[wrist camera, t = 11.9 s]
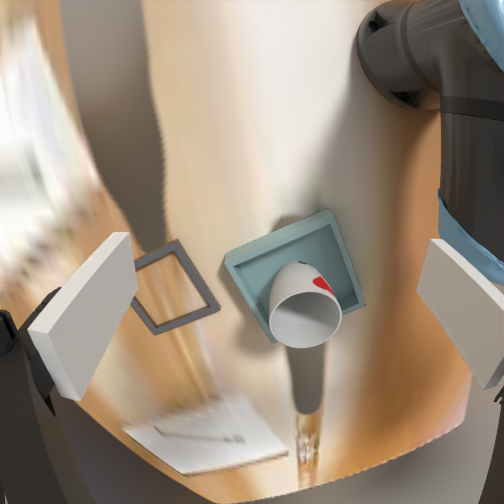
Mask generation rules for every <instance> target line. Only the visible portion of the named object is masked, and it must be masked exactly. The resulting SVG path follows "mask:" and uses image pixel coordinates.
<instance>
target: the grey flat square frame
mask: <svg viewBox="0 0 504 504" xmlns="http://www.w3.org/2000/svg"><path fill="white" fill-rule="evenodd" d="M172 251H175V253H176V254H177V256H178V258H179V259H180V261H181V262H182V264H183V265H184V267H185V269H186V270H187V272H188V273H189V275H190V276H191V278H192V279H193V281H194V282H195V284H196V285H197V287H198V289H199V290H200V292H201V293H202V295H203V296H204V298H205V299H206V301H207V302H208V304H209V305H208V306H206V307H203V308H201V309H198V310H196V311H193V312H190V313H188V314H185V315H183V316H180V317H178V318H175V319H173V320H170V321H168V322H165V323H162V324H160V325H156V323H155V322H154V321H153V319H152V318H151V317H150V316H149V314H148V313H147V312H146V310H145V309H144V308H143V306H142V305H141V304H140V302H139V301H138V300H137V298H136V297H135V296H134V297H133V299H132V301H131V303H130V304H131V305H132V307H133V308H134V309H135V311H136V312H137V313H138V314H139V316H140V317H141V318H142V320H143V321H144V322H145V323H146V325H147V326H148V327H149V329H150V330H151V331H152V332H153V333H154V335H156V334H159V333H162V332H164V331H167V330H170V329H172V328H175V327H178V326H180V325H183V324H186V323H188V322H191V321H193V320H196V319H199V318H201V317H204V316H206V315H209V314H211V313H214V312H217V311H219V310H221V306H220V305H219V303H218V302H217V300H216V299H215V297H214V295H213V294H212V292H211V291H210V289H209V288H208V286H207V285H206V283H205V282H204V280H203V278H202V277H201V275H200V274H199V272H198V271H197V269H196V267H195V266H194V264H193V263H192V261H191V259H190V258H189V256H188V255H187V253H186V251H185V250H184V248H183V246H182V245H181V243H180V242H179V240H178V239H176V240H174V241H172V242H170V243H168V244H166V245H164V246H162V247H160V248H158V249H156V250H154V251H152V252H150V253H148V254H146V255H144V256H142V257H140V258H138V259H136V260H134V266H135V269H137V268H139V267H141V266H143V265H145V264H147V263H149V262H151V261H153V260H155V259H157V258H159V257H161V256H163V255H165V254H167V253H170V252H172Z"/></svg>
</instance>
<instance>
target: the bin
mask: <svg viewBox="0 0 504 504" xmlns="http://www.w3.org/2000/svg"><path fill="white" fill-rule="evenodd" d="M291 260H303V261H305V262H307V263H308V264H310V265H311V266H313V267H314V268H315V269H317V270H318V272H319V273H320V274H321V275H322V277H323V278H324V279H325V280H326V282H327V283H328V284H329V286H330V288H331V290H332V292H333V294H334V295H335V297H336V299H337V301H338V303H339V305H340V307H341V311H342V315H344V314H347V313H349V312H351V311H354V310H356V309H358V308H361V307H363V306H365V305H366V304H365V301H364V298H363V295H362V292H361V289H360V286H359V283H358V280H357V277H356V274H355V271H354V268H353V265H352V262H351V260H350V257H349V254H348V251H347V248H346V246H345V243H344V240H343V238H342V235H341V232H340V230H339V227H338V224H337V222H336V219H335V217H334V215H333V213H332V212H331V211H330V209H329V208H326V209H324V210H322V211H319V212H317V213H315V214H313V215H310V216H308V217H306V218H304V219H301V220H299V221H297V222H295V223H292V224H290V225H288V226H286V227H284V228H281V229H279V230H277V231H274V232H272V233H270V234H268V235H265V236H263V237H261V238H259V239H256V240H254V241H252V242H250V243H247V244H245V245H243V246H241V247H239V248H236V249H234V250H232V251H230V252H227V253H226V254H225V261H224V265H225V266H226V268H227V270H228V271H229V273H230V275H231V276H232V278H233V280H234V281H235V283H236V285H237V287H238V288H239V290H240V292H241V293H242V295H243V297H244V298H245V300H246V301H247V303H248V305H249V306H250V308H251V310H252V311H253V313H254V315H255V316H256V318H257V320H258V321H259V323H260V325H261V326H262V328H263V329H264V331H265V333H266V334H267V336H268V338H269V339H270V341H271V342H272V343H274V342H277V341H278V340H277V339H276V338H275V337H274V336H273V334H272V332H271V330H270V326H269V311H270V295H271V291H272V286H273V281H274V279H275V277H276V275H277V273H278V271H279V269H280V267H281V266H282V265H283V264H285V263H286V262H288V261H291Z"/></svg>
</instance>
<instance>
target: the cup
mask: <svg viewBox="0 0 504 504" xmlns="http://www.w3.org/2000/svg"><path fill="white" fill-rule="evenodd" d="M341 320H342V311H341V307H340V305H339V303H338V301H337V299H336V297H335V295H334V294H333V292H332V290H331V288H330V286H329V284H328V283H327V282H326V280H325V279H324V278H323V277H322V275H321V274H320V273H319V272H318V270H317V269H315V268H314V267H313V266H311V265H310V264H308V263H307V262H305V261H303V260H291V261H288V262H286V263H285V264H283V265H282V266H281V267H280V269H279V271H278V273H277V275H276V277H275V279H274V281H273V286H272V291H271V295H270V311H269V326H270V330H271V332H272V334H273V336H274V337H275V338H276V339H277V340H278V341H279V342H281V343H282V344H284V345H287V346H290V347H294V348H308V347H313V346H316V345H319V344H321V343H323V342H325V341H326V340H328V339H329V338H330V337H332V336H333V335H334V334H335V332H336V331H337V330H338V328H339V326H340V323H341Z"/></svg>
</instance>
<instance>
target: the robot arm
mask: <svg viewBox="0 0 504 504" xmlns="http://www.w3.org/2000/svg"><path fill="white" fill-rule="evenodd" d="M357 50H358V55H359V59H360V62H361V65H362V68H363V70H364V72H365V74H366V76H367V77H368V79H369V80H370V82H371V83H372V84H373V86H374V87H375V88H376V89H377V90H378V91H379V92H380V93H381V94H382V95H383V96H384V97H385V98H387V99H388V100H390V101H391V102H393V103H395V104H396V105H399V106H401V107H404V108H407V109H411V110H422V111H430V110H436V109H439V108H441V111H440V114H441V176H440V188H439V189H438V201H439V219H438V230H439V235H440V238H441V239H430V241H429V245H428V249H427V253H426V257H425V261H424V265H423V269H422V272H421V276H420V279H419V283H418V286H417V289H416V292H417V293H418V294H419V296H420V297H421V298H422V300H423V301H424V302H425V304H426V305H427V306H428V308H429V309H430V311H431V312H432V313H433V315H434V316H435V318H436V319H437V320H438V322H439V323H440V325H441V326H442V328H443V329H444V331H445V332H446V333H447V335H448V336H449V338H450V339H451V341H452V342H453V344H454V345H455V347H456V348H457V350H458V351H459V353H460V354H461V356H462V358H463V359H464V361H465V362H466V364H467V365H468V367H469V369H470V370H471V372H472V373H473V375H474V377H475V378H476V380H477V381H478V383H479V385H480V387H481V388H482V390H485V389H488V388H491V387H494V386H497V384H498V383H499V381H500V380H501V378H502V376H503V375H504V296H503V294H502V293H501V292H499V290H498V289H496V287H495V286H494V285H492V283H490V282H493V283H496V284H499V285H503V286H504V0H392V1H388V2H385V3H383V4H381V5H379V6H378V7H376V8H375V9H373V10H372V11H370V12H369V13H368V14H367V15H366V17H365V18H364V19H363V21H362V23H361V25H360V27H359V31H358V36H357ZM137 290H138V283H137V278H136V272H135V266H134V260H133V253H132V247H131V240H130V233H129V232H113V233H112V234H111V235H110V236H109V237H108V238H107V239H106V240H105V241H104V242H103V243H102V244H101V245H100V246H99V247H98V249H97V250H96V251H95V252H94V253H93V254H92V255H91V256H90V257H89V258H88V259H87V260H86V261H85V262H84V263H83V264H82V266H81V267H80V268H79V269H78V270H77V271H76V272H75V273H74V274H73V275H72V277H71V278H70V279H69V280H68V281H67V282H66V283H65V284H64V286H63V287H59V288H57V289H55V290H54V291H52V292H51V293H49V294H48V295H47V296H46V297H45V299H44V300H43V301H42V302H41V304H39V306H38V307H37V308H36V309H35V311H33V313H32V314H31V315H30V316H29V317H28V319H27V320H26V321H25V322H24V324H23V325H22V326H21V327H20V328H19V330H18V331H17V328H16V326H15V324H14V322H13V319H12V317H11V314H10V312H8V311H6V310H0V504H5V495H6V498H7V502H8V504H97V502H96V500H95V498H94V496H93V495H92V493H91V491H90V489H89V487H88V485H87V482H86V481H85V478H84V476H83V474H82V472H81V470H80V467H79V465H78V463H77V461H76V458H75V456H74V454H73V451H72V449H71V446H70V444H69V441H68V439H67V436H66V434H65V431H64V428H63V425H62V423H61V420H60V417H59V414H58V411H57V408H56V405H55V402H54V399H53V397H52V396H51V394H50V392H51V390H52V388H53V386H54V384H55V386H56V388H57V390H58V391H59V393H60V395H61V396H62V397H65V398H69V399H73V400H77V401H81V400H82V398H83V396H84V394H85V392H86V389H87V387H88V385H89V383H90V381H91V379H92V377H93V375H94V373H95V371H96V369H97V366H98V364H99V362H100V360H101V358H102V356H103V354H104V352H105V350H106V348H107V346H108V344H109V342H110V341H111V339H112V337H113V335H114V333H115V331H116V329H117V327H118V325H119V323H120V321H121V320H122V318H123V316H124V314H125V312H126V310H127V308H128V307H129V305H130V303H131V301H132V299H133V297H134V296H135V294H136V292H137ZM500 397H502V400H501V401H500V403H499V404H501V412H500V418H499V424H498V430H497V436H496V440H495V445H494V450H493V454H492V459H491V463H490V467H489V471H488V475H487V478H486V481H485V485H484V488H483V491H482V494H481V497H480V500H479V503H478V504H504V386H503V388H502V389H501V390H500V392H499V393H498V395H497V396H496V397H495V400H494V402H497V400H498V399H499V398H500ZM4 492H5V494H4Z"/></svg>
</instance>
